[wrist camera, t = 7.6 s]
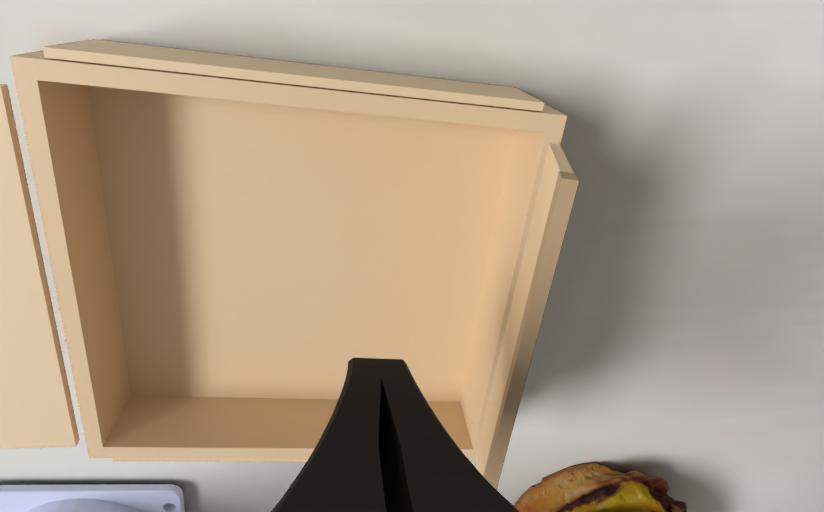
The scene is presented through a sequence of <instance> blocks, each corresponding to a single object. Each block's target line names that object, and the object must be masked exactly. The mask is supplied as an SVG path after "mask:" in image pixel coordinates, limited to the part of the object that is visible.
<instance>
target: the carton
mask: <svg viewBox="0 0 824 512" xmlns="http://www.w3.org/2000/svg"><path fill="white" fill-rule="evenodd" d="M10 58H11V63H12V68H13V73H14V78H15V84H16V89H17V94H18V99H19V104H20V109H21V114H22V119H23V124H24V129H25V134H26V139H27V145H28V150H29V155H30V160H31V165H32V170H33V175H34V180H35V185H36V190H37V195H38V201H39V206H40V211H41V216H42V221H43V226H44V231H45V236H46V241H47V246H48V251H49V256H50V262H51V267H52V272H53V277H54V282H55V287H56V292H57V297H58V302H59V307H60V312H61V318H62V323H63V328H64V333H65V338H66V343H67V348H68V353H69V358H70V363H71V368H72V373H73V379H74V384H75V389H76V394H77V399H78V404H79V409H80V414H81V419H82V424H83V429H84V435H85V440H86V445H87V450H88V455H89V458H113V461H183V462H307V461H308V459H309V457H310V456H311V454H312V452H313V450H314V449H315V447H316V445H317V443H318V442H319V440H320V438H321V436H322V434H323V432H324V430H325V428H326V426H327V424H328V422H329V420H330V418H331V416H332V414H333V411H334V409H335V407H336V404H337V402H338V399H339V397H340V394H341V392H342V389H343V386H344V382H345V379H346V375H347V369H348V361H349V360H351V359H352V358H378V359H403V360H404V361H405V362H406V364H407V366H408V368H409V370H410V372H411V374H412V376H413V378H414V380H415V382H416V384H417V385H418V387H419V389H420V391H421V392H422V394H423V396H424V398H425V399H426V401H427V403H428V404H429V406H430V407H431V409H432V410H433V412H434V413H435V415H436V416H437V418H438V420H439V421H440V423H441V424H442V425H443V427H444V428H445V430H446V431H447V433H448V434H449V435H450V437H451V438H452V439H453V441H454V442H455V443H456V445H457V446H458V447H459V448H460V450H461V451H462V452H463V453H464V455H465V456H466V457H467V458H468V459H476V452H477V448H478V444H479V440H480V435H481V431H482V427H483V423H484V418H485V414H486V410H487V406H488V401H489V397H490V393H491V388H492V384H493V380H494V376H495V371H496V367H497V363H498V359H499V354H500V350H501V346H502V342H503V337H504V333H505V329H506V325H507V320H508V316H509V312H510V307H511V303H512V299H513V295H514V290H515V286H516V282H517V278H518V273H519V269H520V265H521V261H522V256H523V252H524V248H525V243H526V239H527V235H528V231H529V226H530V222H531V218H532V214H533V209H534V205H535V201H536V197H537V192H538V188H539V184H540V179H541V175H542V171H543V167H544V162H545V158H546V154H547V150H548V145H549V143H552V144H559V145H560V144H561V140H562V136H563V132H564V128H565V124H566V119H567V115H565V114H563V113H561V112H559V111H557V110H555V109H553V108H552V107H550V106H548V105H546V104H544V102H542V101H540V100H538V99H537V98H535V97H533V96H531V95H529V94H527V93H525V92H523V91H521V90H519V89H517V88H516V87H507V86H499V85H490V84H481V83H473V82H464V81H455V80H446V79H438V78H429V77H420V76H411V75H403V74H394V73H385V72H376V71H368V70H359V69H350V68H341V67H333V66H324V65H315V64H306V63H298V62H289V61H280V60H271V59H263V58H254V57H245V56H237V55H228V54H219V53H210V52H202V51H193V50H184V49H175V48H167V47H158V46H149V45H140V44H132V43H123V42H114V41H105V40H97V39H92V40H85V41H79V42H72V43H65V44H59V45H52V46H46V47H43V51H37V52H31V53H25V54H19V55H13V56H10Z"/></svg>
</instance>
